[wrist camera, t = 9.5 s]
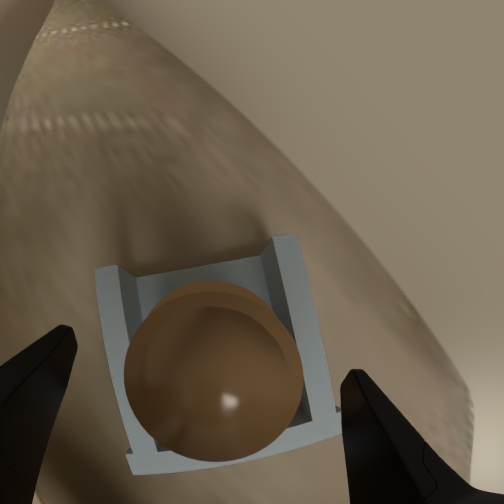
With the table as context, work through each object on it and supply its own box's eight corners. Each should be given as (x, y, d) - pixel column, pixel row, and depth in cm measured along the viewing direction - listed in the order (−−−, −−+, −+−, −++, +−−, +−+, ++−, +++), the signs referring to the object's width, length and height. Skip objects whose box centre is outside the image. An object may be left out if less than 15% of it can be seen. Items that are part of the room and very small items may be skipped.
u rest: (318, 410, 20) (347, 431, 15) (149, 444, 18) (133, 474, 13) (283, 253, 23) (304, 231, 18) (114, 284, 21) (86, 270, 16)
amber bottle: (179, 394, 19) (117, 512, 4) (161, 309, 20) (56, 258, 6) (264, 378, 20) (372, 462, 5) (246, 294, 21) (321, 213, 7)
